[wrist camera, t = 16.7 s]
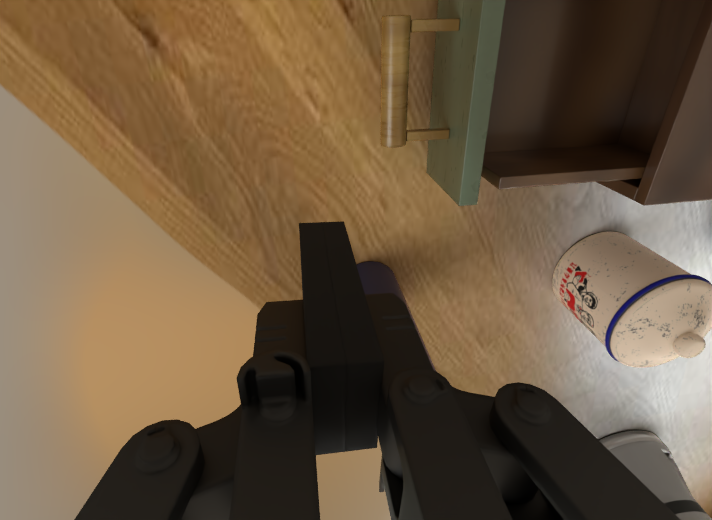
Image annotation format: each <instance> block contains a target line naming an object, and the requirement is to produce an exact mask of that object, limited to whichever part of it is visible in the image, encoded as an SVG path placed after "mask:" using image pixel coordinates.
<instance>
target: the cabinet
mask: <svg viewBox="0 0 712 520" xmlns="http://www.w3.org/2000/svg"><path fill="white" fill-rule="evenodd" d="M597 183H599V184H601V185H603V186H605V187H608V188H610V189H612V190H614V191H616V192H618V193H620V194H622V195H624V196H626V197H628V198H630V199H632V200H634V201H636V202H638V203H640V204H642V205H656V204H667V203H679V202H691V201H703V200H712V0H705V1H704V4H703V7H702V10H701V13H700V15H699V18H698V21H697V24H696V27H695V30H694V32H693V35H692V38H691V41H690V44H689V47H688V49H687V52H686V55H685V58H684V61H683V63H682V66H681V69H680V72H679V75H678V78H677V80H676V83H675V86H674V89H673V92H672V95H671V97H670V100H669V103H668V106H667V109H666V112H665V114H664V117H663V120H662V123H661V126H660V129H659V131H658V134H657V137H656V140H655V143H654V146H653V148H652V151H651V154H650V157H649V160H648V163H647V165H646V168H645V171H644V174H643V177H642V178H638V179H625V180H612V181H599V182H597Z"/></svg>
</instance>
